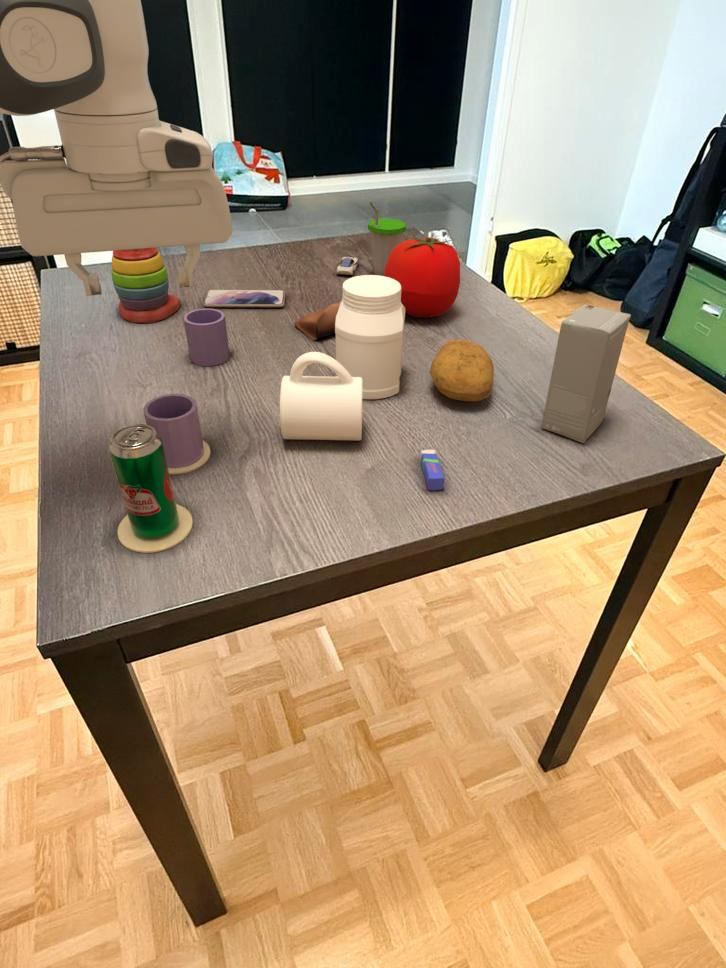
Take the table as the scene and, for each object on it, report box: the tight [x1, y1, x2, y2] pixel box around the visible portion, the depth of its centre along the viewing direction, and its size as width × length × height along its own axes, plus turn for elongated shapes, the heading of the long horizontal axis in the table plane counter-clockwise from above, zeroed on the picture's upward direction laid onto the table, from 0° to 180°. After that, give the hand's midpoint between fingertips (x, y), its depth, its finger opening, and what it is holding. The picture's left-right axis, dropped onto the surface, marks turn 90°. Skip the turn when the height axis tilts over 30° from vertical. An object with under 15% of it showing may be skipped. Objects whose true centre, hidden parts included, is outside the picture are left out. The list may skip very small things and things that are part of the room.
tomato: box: [384, 236, 461, 319], centre depth 113 cm, size 16×14×14 cm
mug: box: [279, 351, 363, 441], centre depth 80 cm, size 8×10×12 cm
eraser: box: [419, 449, 445, 491], centre depth 77 cm, size 2×6×2 cm, turn 5°
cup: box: [367, 201, 407, 276], centre depth 127 cm, size 8×8×15 cm
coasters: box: [117, 440, 212, 554], centre depth 74 cm, size 12×21×1 cm, turn 20°
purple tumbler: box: [142, 393, 204, 468], centre depth 77 cm, size 6×6×7 cm
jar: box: [334, 274, 406, 400], centre depth 91 cm, size 12×10×15 cm
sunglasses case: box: [294, 300, 342, 341], centre depth 111 cm, size 18×7×7 cm, turn 129°
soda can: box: [108, 423, 179, 539], centre depth 65 cm, size 5×5×12 cm
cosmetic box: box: [540, 304, 632, 444], centre depth 83 cm, size 8×7×16 cm
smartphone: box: [203, 289, 286, 309], centre depth 119 cm, size 7×1×15 cm
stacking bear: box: [111, 248, 181, 324], centre depth 108 cm, size 11×10×18 cm
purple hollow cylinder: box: [183, 307, 230, 367], centre depth 99 cm, size 6×6×7 cm
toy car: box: [336, 256, 359, 277], centre depth 134 cm, size 4×12×3 cm, turn 171°
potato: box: [429, 339, 495, 402], centre depth 92 cm, size 9×13×7 cm
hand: (141, 289), depth 66 cm, fingers open, 8 cm apart
